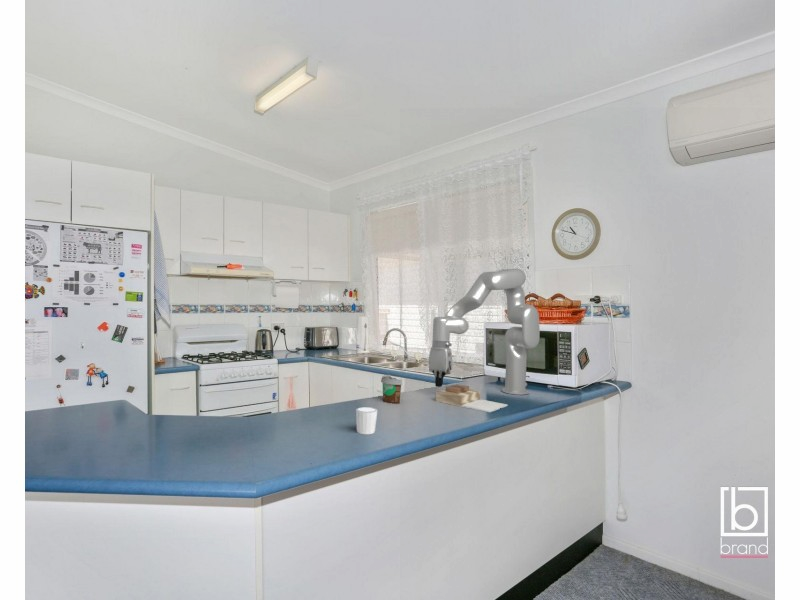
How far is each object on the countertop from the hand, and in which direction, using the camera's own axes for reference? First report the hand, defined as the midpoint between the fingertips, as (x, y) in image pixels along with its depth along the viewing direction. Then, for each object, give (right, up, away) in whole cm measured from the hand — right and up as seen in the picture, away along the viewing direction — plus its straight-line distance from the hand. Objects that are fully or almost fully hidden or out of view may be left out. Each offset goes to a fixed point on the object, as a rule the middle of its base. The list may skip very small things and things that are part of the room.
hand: (438, 386), depth 194 cm
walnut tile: (+7, 0, -6) cm, 10 cm away
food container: (-22, -4, -13) cm, 26 cm away
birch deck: (+8, -5, -6) cm, 11 cm away
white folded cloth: (+18, -6, -14) cm, 23 cm away
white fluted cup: (-28, -4, -56) cm, 62 cm away
